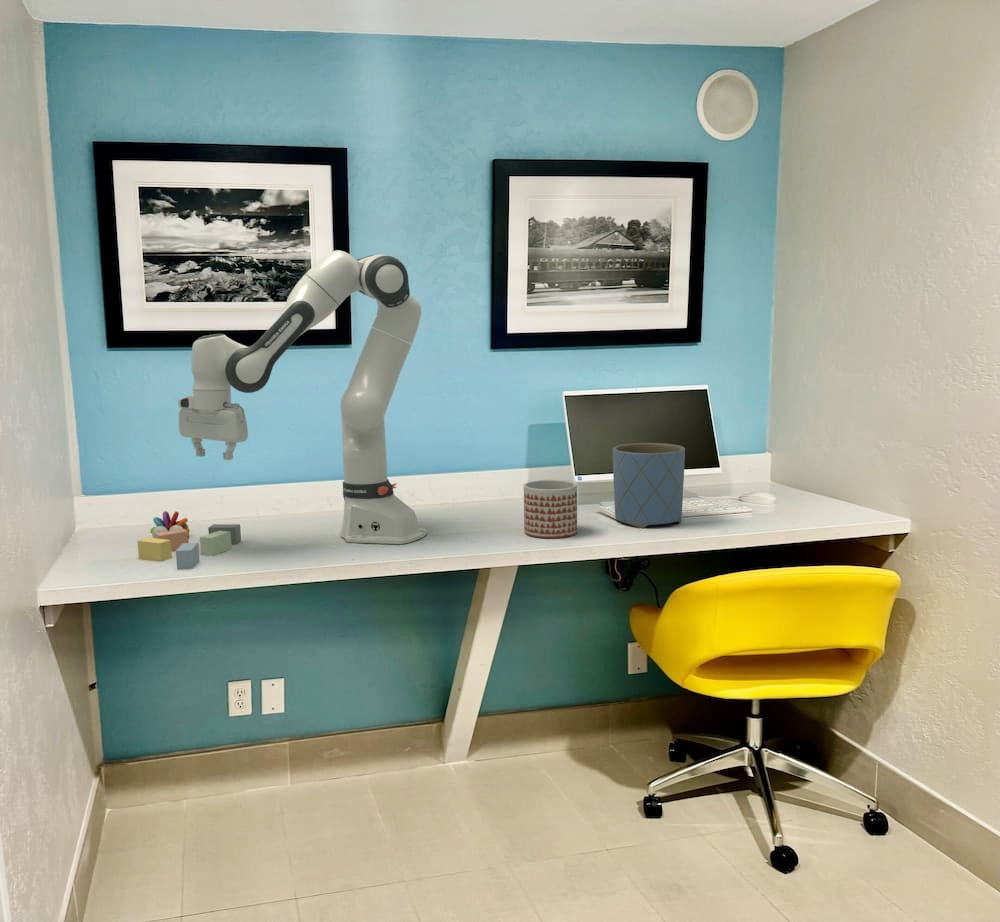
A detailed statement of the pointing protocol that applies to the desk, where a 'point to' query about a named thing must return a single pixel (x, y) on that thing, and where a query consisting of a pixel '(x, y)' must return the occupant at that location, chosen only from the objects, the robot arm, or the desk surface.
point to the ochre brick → (154, 549)
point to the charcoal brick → (230, 528)
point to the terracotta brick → (174, 537)
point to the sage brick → (215, 543)
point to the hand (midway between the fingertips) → (214, 457)
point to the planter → (648, 483)
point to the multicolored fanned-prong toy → (169, 523)
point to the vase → (550, 508)
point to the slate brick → (187, 556)
